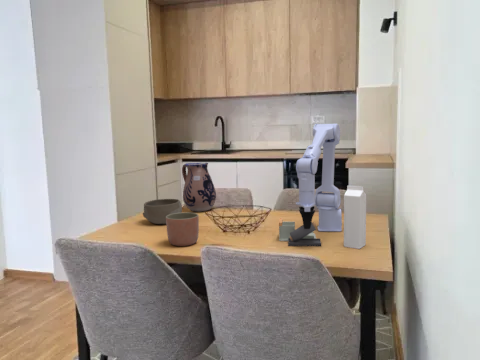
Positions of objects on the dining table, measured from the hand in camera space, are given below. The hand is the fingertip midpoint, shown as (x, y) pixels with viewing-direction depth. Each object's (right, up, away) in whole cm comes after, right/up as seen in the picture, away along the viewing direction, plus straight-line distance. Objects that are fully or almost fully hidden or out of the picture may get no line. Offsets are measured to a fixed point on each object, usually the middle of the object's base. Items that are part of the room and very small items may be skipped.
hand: (307, 227), depth 158 cm
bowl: (-61, -3, +43) cm, 75 cm away
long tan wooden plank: (-9, +1, +9) cm, 12 cm away
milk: (+17, -7, -3) cm, 18 cm away
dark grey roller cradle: (-1, -6, +1) cm, 6 cm away
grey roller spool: (-2, -2, 0) cm, 2 cm away
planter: (-47, -7, +6) cm, 47 cm away
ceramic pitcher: (-48, +1, +70) cm, 85 cm away
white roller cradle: (-2, -5, +9) cm, 11 cm away
